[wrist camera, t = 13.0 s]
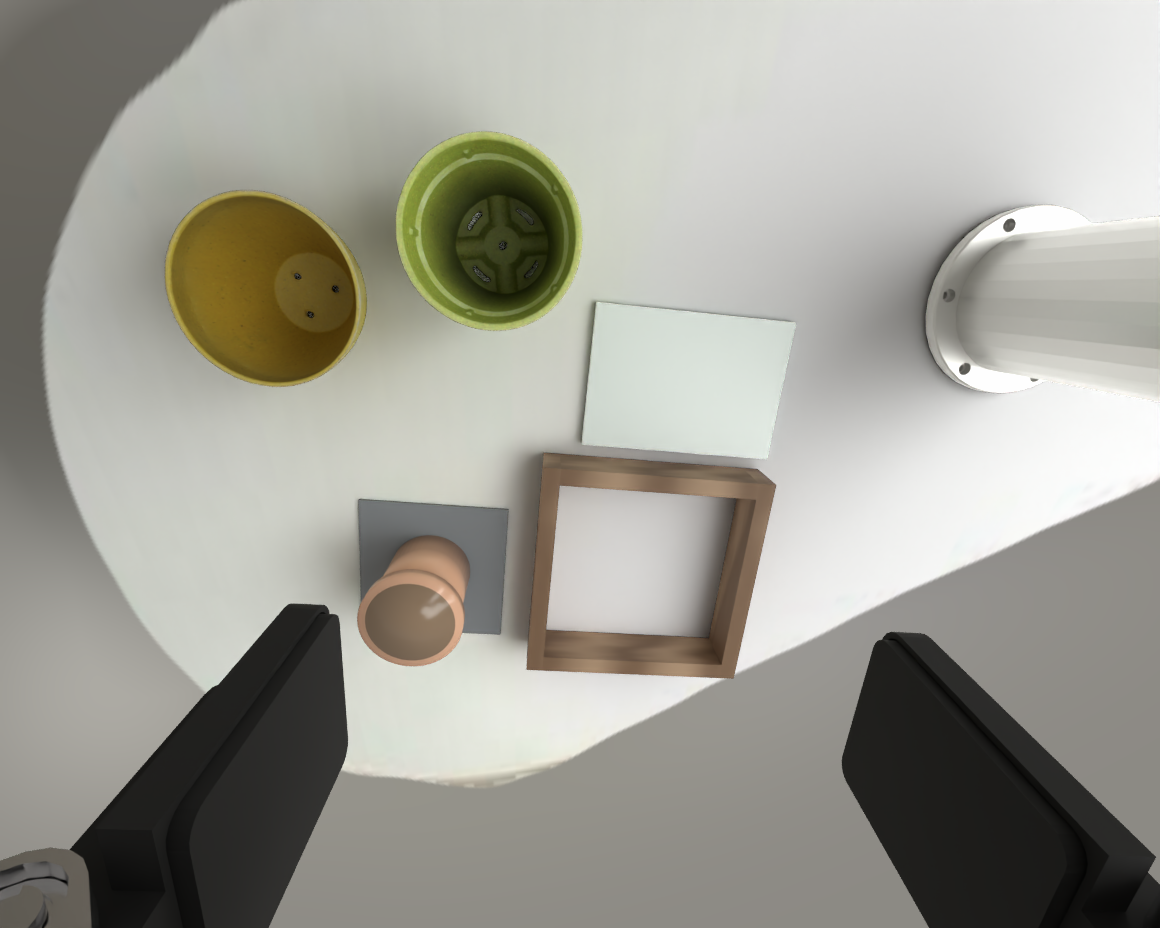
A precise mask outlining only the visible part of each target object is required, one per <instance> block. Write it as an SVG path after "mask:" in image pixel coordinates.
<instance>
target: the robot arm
mask: <svg viewBox="0 0 1160 928" xmlns="http://www.w3.org/2000/svg"><path fill="white" fill-rule="evenodd" d="M926 335H927V339H928V343H929V348H930V350H931V352H932V354H933V357H934V359H935V361H936V363H937V364H938V365H939V366H940V368H941V369H942V370H943V371H944V373H945V374H946V375H948V376H949V377H950V378H951V379H953V380H954V381H955V382H957V383H959V384H961V385H963V386H966V387H968V388H970V389H975V390H979V391H982V392H989V393H999V394H1001V393H1010V392H1017V391H1021V390H1024V389H1028V388H1031V387H1034V386H1036V385H1038V384H1040V383H1042V382H1044V381H1049V382H1054V383H1060V384H1065V385H1070V386H1075V387H1081V388H1086V389H1091V390H1096V391H1102V392H1107V393H1112V394H1117V395H1123V396H1128V397H1133V398H1138V399H1144V400H1149V401H1154V402H1160V216H1154V217H1146V218H1137V219H1128V220H1119V221H1110V222H1101V223H1093V224H1091V223H1090V222H1089V221H1088V220H1087V219H1086V218H1085V217H1084V216H1082V215H1080V214H1078V213H1076V212H1075V211H1073V210H1071V209H1068V208H1064V207H1060V206H1056V205H1033V206H1027V207H1020V208H1016V209H1013V210H1009V211H1006V212H1003V213H1000V214H998V215H996V216H994V217H992V218H990V219H988V220H986V221H984V222H983V223H982V224H980V225H979V226H978V227H976V228H975V229H974V230H972V231H971V232H969V233H968V234H967V235H966V236H965V237H964V238H963V239H962V240H961V241H960V242H959V243H958V244H957V245H956V246H955V247H954V249H953V250H952V252H951V253H950V254H949V256H948V257H947V259H946V260H945V261H944V263H943V264H942V266H941V268H940V270H939V272H938V274H937V276H936V278H935V280H934V282H933V286H932V289H931V292H930V295H929V298H928V304H927V310H926ZM347 747H348V733H347V719H346V705H345V691H344V677H343V664H342V650H341V636H340V623H339V618H338V616H337V615H336V614H329V610H328V608H327V606H325V605H312V604H288V605H287V606H286V607H285V608H284V609H283V610H282V611H281V612H280V614H279V615H278V616H277V617H276V618H275V619H274V621H273V622H272V623H271V624H270V625H269V626H268V628H267V629H266V630H265V631H264V632H263V633H262V635H261V636H260V637H259V638H258V639H257V640H256V642H255V643H254V644H253V645H252V646H251V647H250V649H249V650H248V651H247V652H246V653H245V654H244V656H243V657H242V658H241V659H240V660H239V661H238V663H237V664H236V665H235V666H234V667H233V668H232V670H231V671H230V672H229V673H228V674H227V675H226V677H225V678H224V679H223V680H222V681H221V682H220V684H219V685H217V686H214V687H212V688H211V689H210V690H209V691H208V692H207V693H206V694H205V695H204V696H203V697H202V698H201V699H200V701H199V702H198V703H197V704H196V705H195V706H194V707H193V709H192V710H191V711H190V712H189V713H188V714H187V715H186V717H185V718H184V719H183V720H182V721H181V723H179V725H178V726H177V727H176V728H175V729H174V730H173V731H172V733H171V734H170V735H169V736H168V737H167V738H166V740H165V741H164V742H163V743H162V744H161V746H159V748H158V749H157V750H156V751H155V752H154V753H153V755H152V756H151V757H150V758H149V759H148V760H147V762H146V763H145V764H144V765H143V766H142V767H141V768H140V770H139V771H138V772H137V773H136V774H135V775H134V776H133V777H132V779H131V780H130V781H129V782H128V783H127V784H126V786H125V787H124V788H123V789H122V790H121V791H120V792H119V794H118V795H117V796H116V797H115V798H114V799H113V801H112V802H111V803H110V804H109V805H108V806H107V808H106V809H105V810H104V811H103V812H102V813H101V814H100V815H99V817H98V818H97V819H96V820H95V821H94V822H93V824H92V825H91V826H90V827H89V828H88V829H87V831H86V832H85V833H84V834H83V835H82V836H81V837H80V838H79V840H78V841H77V842H76V843H75V844H74V845H73V846H72V848H71V849H70V850H67V849H57V848H45V849H39V850H33V851H27V852H23V853H20V854H18V855H15V856H12V857H9V858H6V859H3V860H1V861H0V928H269V925H270V923H271V921H272V919H273V917H274V914H275V912H276V910H277V908H278V906H279V903H280V901H281V899H282V897H283V895H284V893H285V890H286V888H287V886H288V884H289V882H290V880H291V877H292V875H293V873H294V871H295V868H296V866H297V864H298V862H299V860H300V857H301V855H302V853H303V851H304V849H305V846H306V844H307V842H308V840H309V838H310V836H311V834H312V831H313V829H314V827H315V825H316V822H317V820H318V818H319V816H320V814H321V812H322V809H323V807H324V805H325V803H326V801H327V799H328V796H329V794H330V792H331V790H332V788H333V785H334V783H335V781H336V779H337V777H338V774H339V772H340V770H341V768H342V766H343V763H344V760H345V757H346V753H347ZM842 769H843V774H844V777H845V779H846V782H847V784H848V785H849V787H850V789H851V791H852V792H853V794H854V796H855V798H856V799H857V801H858V803H859V805H860V806H861V808H862V810H863V812H864V814H865V815H866V817H867V819H868V821H869V822H870V824H871V826H872V828H873V829H874V831H875V833H876V835H877V836H878V838H879V840H880V842H881V843H882V845H883V847H884V849H885V851H886V852H887V854H888V856H889V858H890V859H891V861H892V863H893V865H894V866H895V868H896V870H897V871H898V874H899V875H900V877H901V879H902V880H903V882H904V884H905V886H906V887H907V889H908V891H909V893H910V894H911V896H912V898H913V900H914V902H915V904H916V905H917V907H918V909H919V911H920V912H921V914H922V916H923V918H924V919H925V921H926V923H927V925H928V926H929V928H1160V884H1159V883H1158V882H1157V881H1156V880H1155V879H1154V878H1153V877H1152V876H1151V875H1150V874H1149V873H1148V871H1149V869H1150V867H1151V865H1152V864H1153V862H1154V860H1155V858H1156V856H1154V855H1153V854H1152V853H1151V852H1150V851H1149V850H1148V849H1147V848H1146V847H1145V846H1144V845H1143V844H1142V843H1141V842H1140V841H1139V840H1138V839H1137V838H1136V837H1135V836H1134V835H1133V834H1132V833H1131V832H1130V831H1129V830H1128V829H1127V828H1126V827H1124V825H1123V824H1121V823H1120V822H1119V821H1118V820H1117V819H1116V818H1115V817H1114V816H1113V815H1112V814H1111V813H1110V812H1109V811H1108V810H1107V809H1106V808H1105V807H1104V806H1103V805H1102V804H1101V803H1100V802H1099V801H1098V800H1097V799H1095V797H1093V795H1092V794H1091V793H1089V791H1087V790H1086V789H1085V788H1084V787H1083V786H1082V785H1081V784H1080V783H1079V782H1078V781H1077V780H1076V779H1075V778H1074V777H1073V776H1072V775H1071V774H1070V773H1069V772H1068V771H1067V770H1066V769H1065V768H1064V767H1063V766H1062V765H1061V764H1060V763H1059V762H1058V761H1057V760H1056V759H1054V758H1053V757H1052V756H1051V755H1050V754H1049V753H1048V752H1047V751H1046V750H1045V749H1044V748H1043V747H1042V746H1041V745H1040V744H1039V743H1038V742H1037V741H1036V740H1035V739H1034V738H1032V736H1031V735H1030V734H1029V733H1028V732H1027V731H1025V729H1024V728H1023V727H1021V726H1020V725H1019V724H1018V723H1017V722H1016V721H1015V720H1014V719H1013V718H1012V717H1011V716H1010V715H1009V714H1008V713H1007V712H1006V711H1005V710H1004V709H1003V708H1002V707H1001V706H1000V705H999V704H998V703H997V702H996V701H994V699H992V697H991V696H990V695H988V694H987V693H986V692H985V691H984V690H983V689H982V688H981V687H980V686H979V685H978V684H977V683H976V682H975V681H974V680H973V679H972V678H971V677H970V676H969V675H968V674H967V673H966V672H965V671H964V670H963V669H961V667H960V666H959V665H958V664H957V663H956V662H954V661H953V660H952V659H951V658H950V657H949V656H948V655H947V654H946V653H945V652H944V651H943V650H942V649H941V648H940V647H939V646H938V645H937V644H936V643H935V642H934V641H933V640H932V639H931V638H929V637H928V636H927V635H925V634H921V633H903V632H890V633H887V634H886V635H885V636H884V637H883V639H882V640H879V641H877V642H876V643H875V645H874V647H873V651H872V654H871V658H870V661H869V665H868V669H867V672H866V675H865V679H864V682H863V686H862V689H861V693H860V696H859V700H858V704H857V707H856V711H855V714H854V718H853V721H852V725H851V728H850V732H849V735H848V739H847V742H846V746H845V749H844V753H843V756H842Z"/></svg>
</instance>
